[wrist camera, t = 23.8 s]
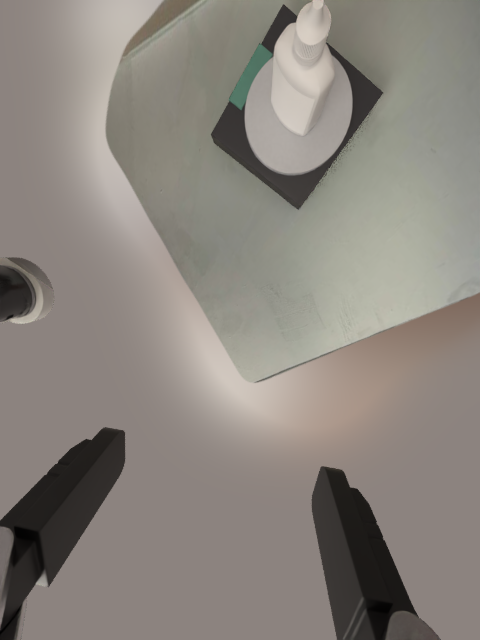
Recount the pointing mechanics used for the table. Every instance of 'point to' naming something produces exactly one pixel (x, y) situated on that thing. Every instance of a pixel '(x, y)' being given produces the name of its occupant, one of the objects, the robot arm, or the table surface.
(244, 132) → the scale
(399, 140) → the table surface
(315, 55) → the eye dropper bottle
